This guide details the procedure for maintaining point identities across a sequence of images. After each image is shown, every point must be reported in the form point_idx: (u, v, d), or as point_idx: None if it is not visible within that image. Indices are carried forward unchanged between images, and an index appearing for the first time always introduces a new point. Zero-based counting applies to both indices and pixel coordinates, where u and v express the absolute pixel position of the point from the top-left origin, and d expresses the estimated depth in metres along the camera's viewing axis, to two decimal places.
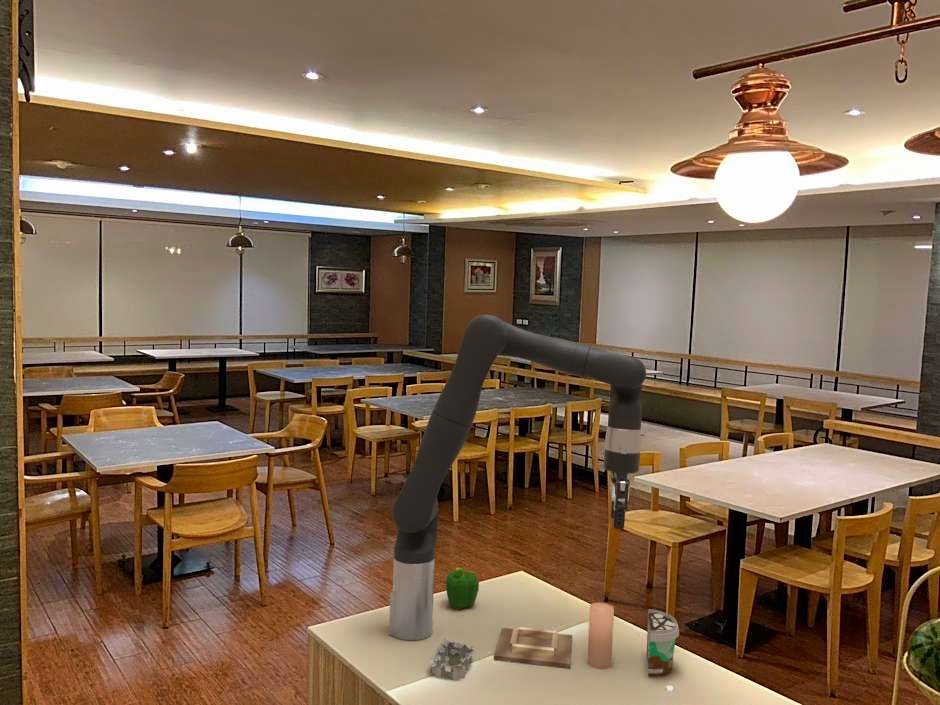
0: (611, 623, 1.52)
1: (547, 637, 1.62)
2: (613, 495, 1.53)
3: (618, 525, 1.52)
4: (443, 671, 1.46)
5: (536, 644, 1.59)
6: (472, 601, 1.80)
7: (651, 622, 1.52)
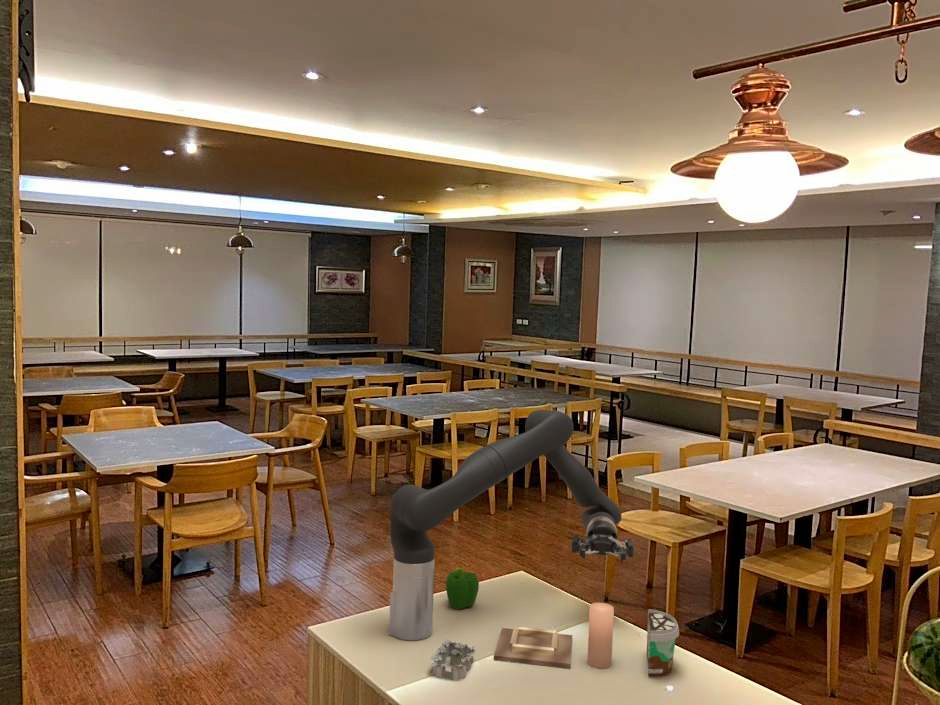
0: (611, 623, 1.52)
1: (547, 637, 1.62)
2: None
3: None
4: (443, 671, 1.46)
5: (536, 644, 1.59)
6: (472, 601, 1.80)
7: (651, 622, 1.52)
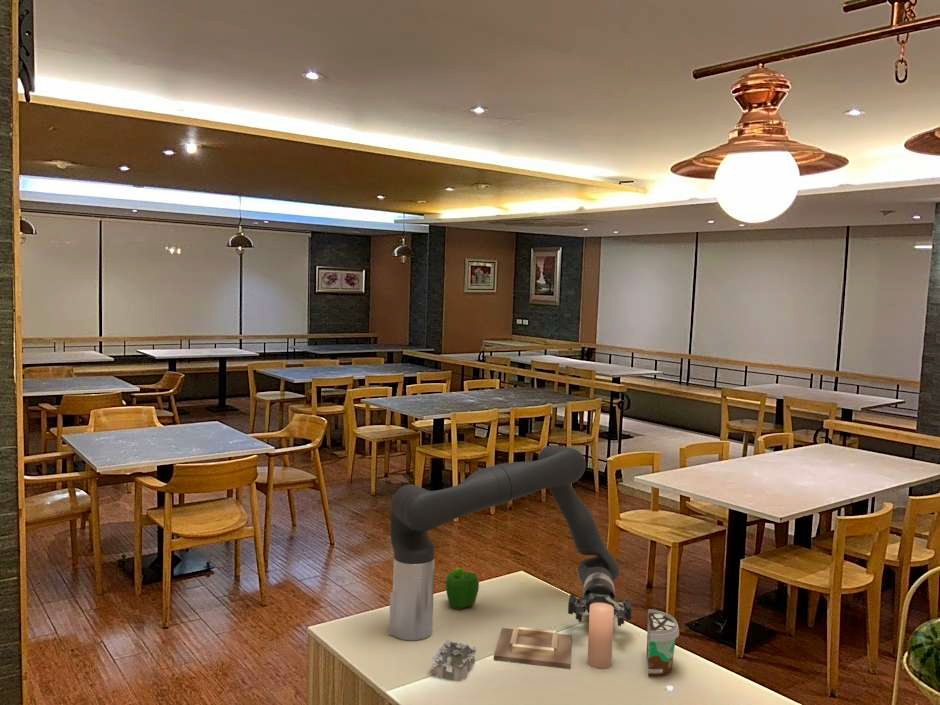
0: (611, 623, 1.52)
1: (547, 637, 1.62)
2: None
3: (623, 619, 1.60)
4: (444, 671, 1.46)
5: (536, 644, 1.59)
6: (472, 601, 1.80)
7: (651, 622, 1.52)
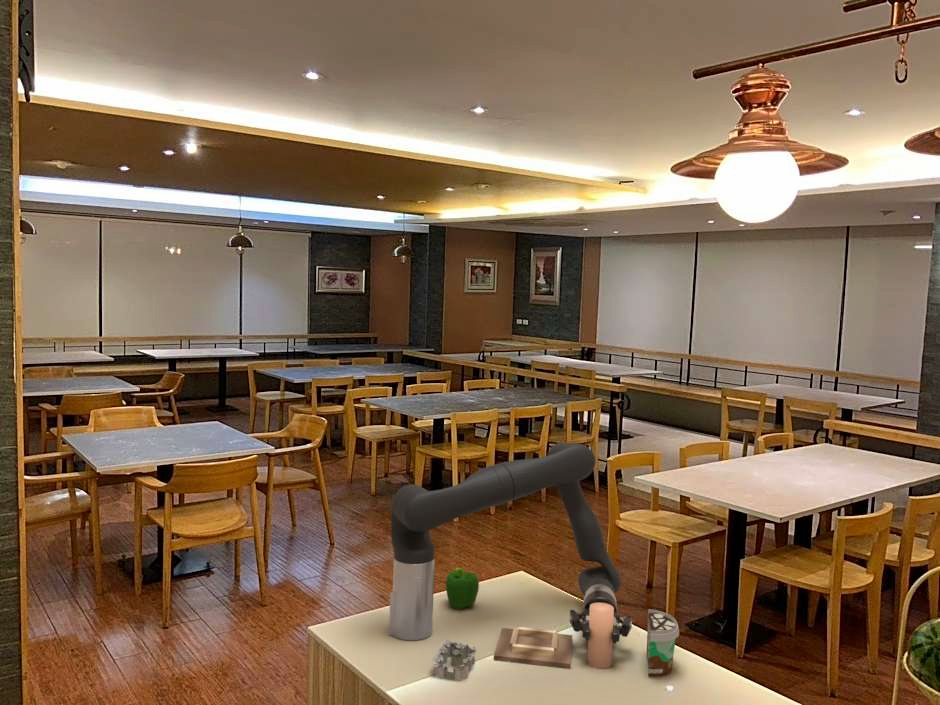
0: (611, 623, 1.52)
1: (547, 637, 1.62)
2: None
3: (619, 637, 1.51)
4: (445, 671, 1.45)
5: (536, 644, 1.59)
6: (472, 601, 1.80)
7: (651, 622, 1.52)
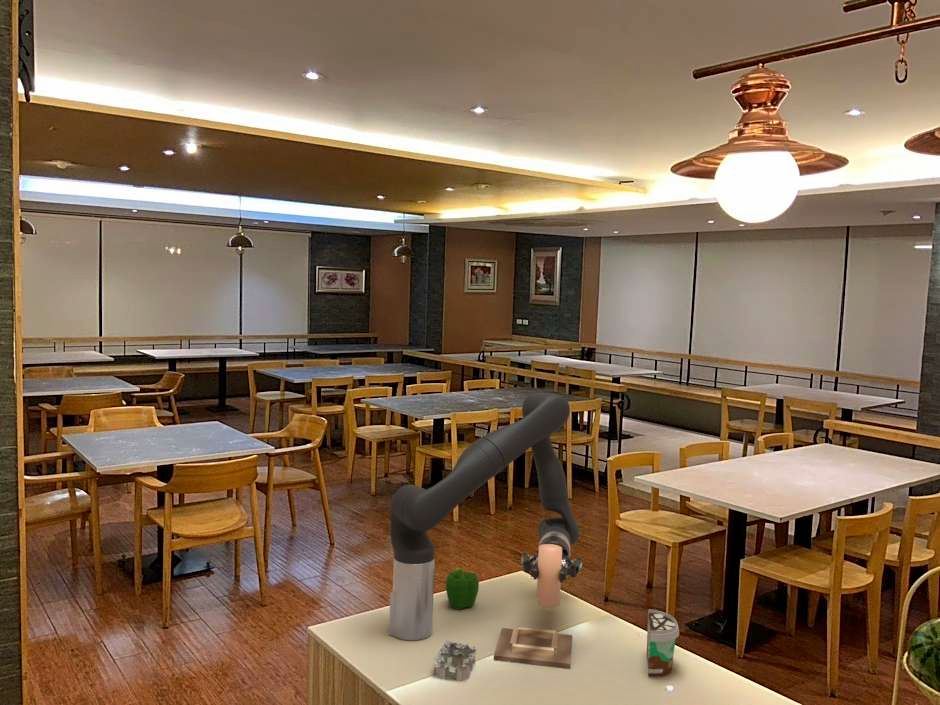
0: (559, 563, 1.55)
1: (547, 637, 1.62)
2: None
3: (566, 576, 1.54)
4: (447, 672, 1.45)
5: (536, 644, 1.59)
6: (472, 601, 1.80)
7: (651, 622, 1.52)
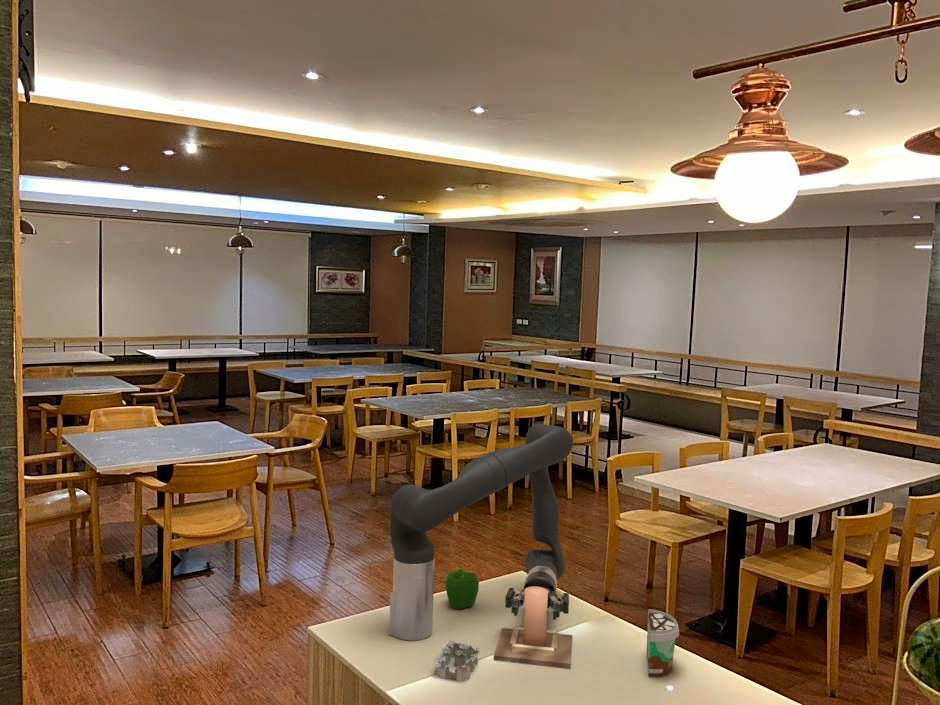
0: (545, 606, 1.57)
1: (547, 637, 1.62)
2: None
3: (559, 613, 1.57)
4: (447, 672, 1.45)
5: None
6: (472, 601, 1.80)
7: (651, 622, 1.52)
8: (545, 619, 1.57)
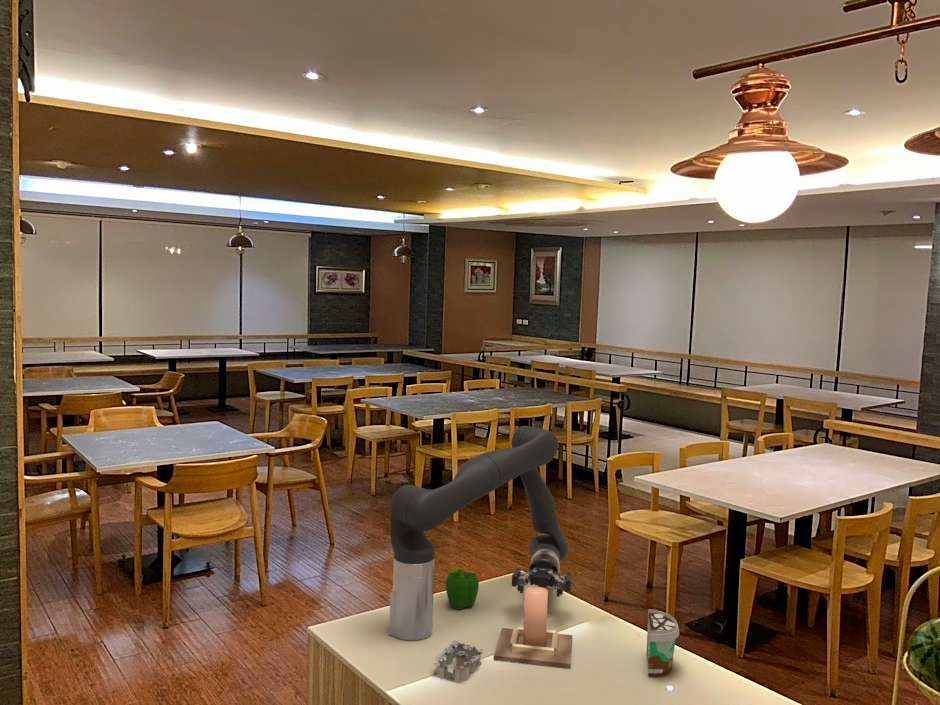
0: (545, 606, 1.57)
1: (547, 637, 1.62)
2: None
3: (562, 591, 1.70)
4: (446, 671, 1.45)
5: None
6: (472, 601, 1.80)
7: (651, 622, 1.52)
8: (545, 619, 1.57)
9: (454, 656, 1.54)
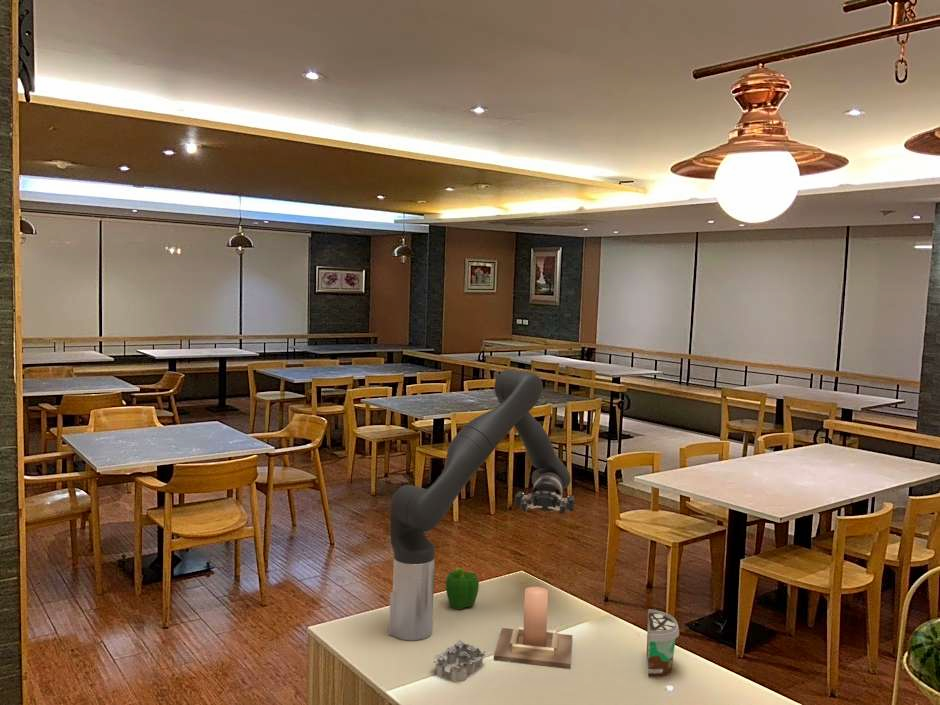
0: (545, 606, 1.57)
1: (547, 637, 1.62)
2: None
3: (565, 508, 1.70)
4: (444, 670, 1.46)
5: None
6: (472, 601, 1.80)
7: (651, 622, 1.52)
8: (545, 619, 1.57)
9: (458, 656, 1.54)
